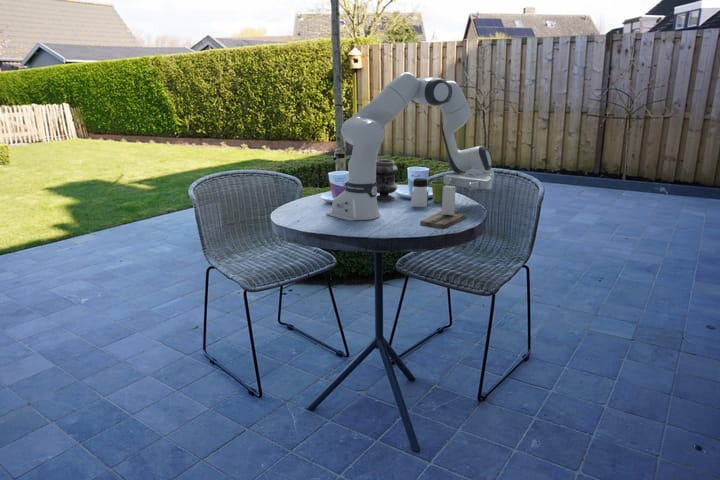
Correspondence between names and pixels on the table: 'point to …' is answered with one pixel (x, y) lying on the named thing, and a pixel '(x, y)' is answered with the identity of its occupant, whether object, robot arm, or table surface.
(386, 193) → the dark footed urn
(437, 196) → the plant pot
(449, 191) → the white upright block
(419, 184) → the medicine bottle
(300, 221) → the table surface
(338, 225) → the table surface
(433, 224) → the slider board
